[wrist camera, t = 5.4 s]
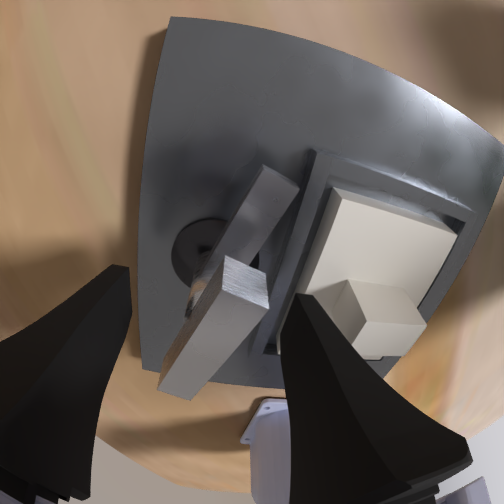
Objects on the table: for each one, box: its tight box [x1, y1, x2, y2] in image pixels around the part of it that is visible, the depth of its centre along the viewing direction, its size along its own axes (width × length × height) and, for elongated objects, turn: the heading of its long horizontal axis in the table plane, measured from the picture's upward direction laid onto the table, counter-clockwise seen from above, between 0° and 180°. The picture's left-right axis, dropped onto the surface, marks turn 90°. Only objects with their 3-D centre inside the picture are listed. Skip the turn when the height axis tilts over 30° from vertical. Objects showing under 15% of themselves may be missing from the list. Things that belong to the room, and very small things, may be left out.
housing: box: [138, 17, 504, 389], centre depth 13 cm, size 18×16×2 cm
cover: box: [276, 187, 458, 360], centre depth 11 cm, size 8×6×4 cm
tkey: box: [157, 164, 300, 400], centre depth 9 cm, size 1×7×5 cm, turn 150°
